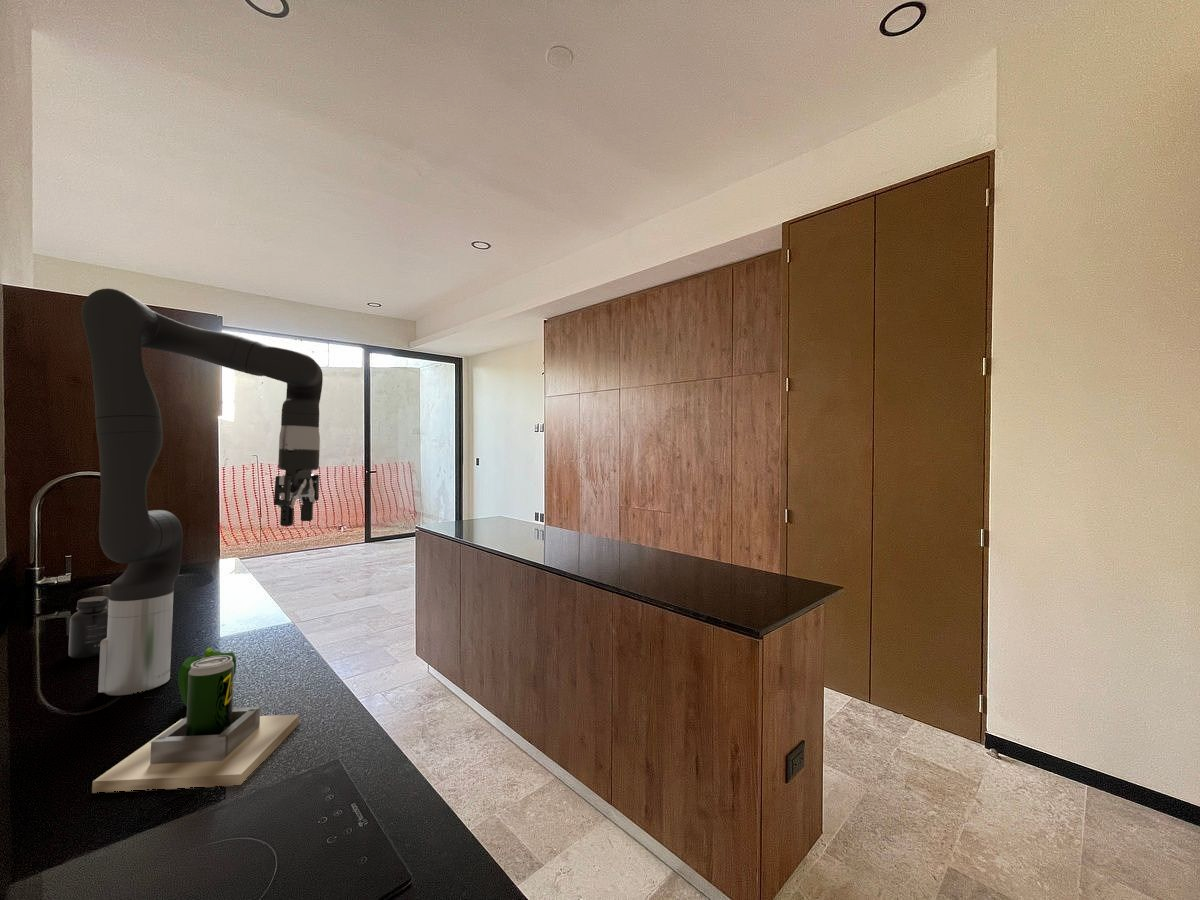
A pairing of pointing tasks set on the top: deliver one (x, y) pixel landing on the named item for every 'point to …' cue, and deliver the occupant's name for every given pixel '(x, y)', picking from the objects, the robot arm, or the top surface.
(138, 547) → the robot arm
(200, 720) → the beer can
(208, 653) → the bell pepper
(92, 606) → the supplement bottle
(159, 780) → the collar board
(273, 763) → the top surface
